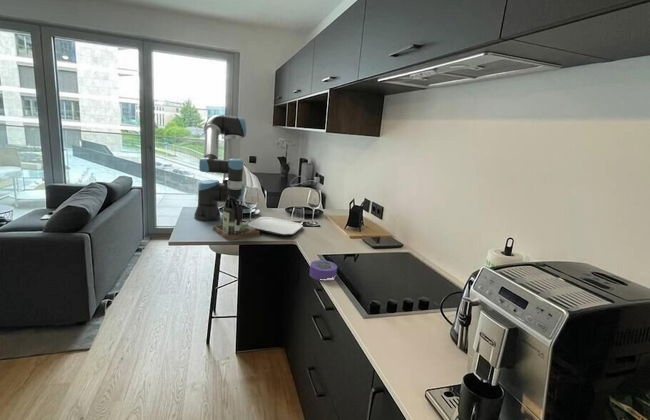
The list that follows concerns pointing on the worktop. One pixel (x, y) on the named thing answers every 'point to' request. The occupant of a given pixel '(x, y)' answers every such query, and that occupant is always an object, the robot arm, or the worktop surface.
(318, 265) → the tape roll
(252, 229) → the box
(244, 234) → the brown wooden frame
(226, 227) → the coffee can
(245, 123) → the robot arm
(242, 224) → the box
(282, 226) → the plate
